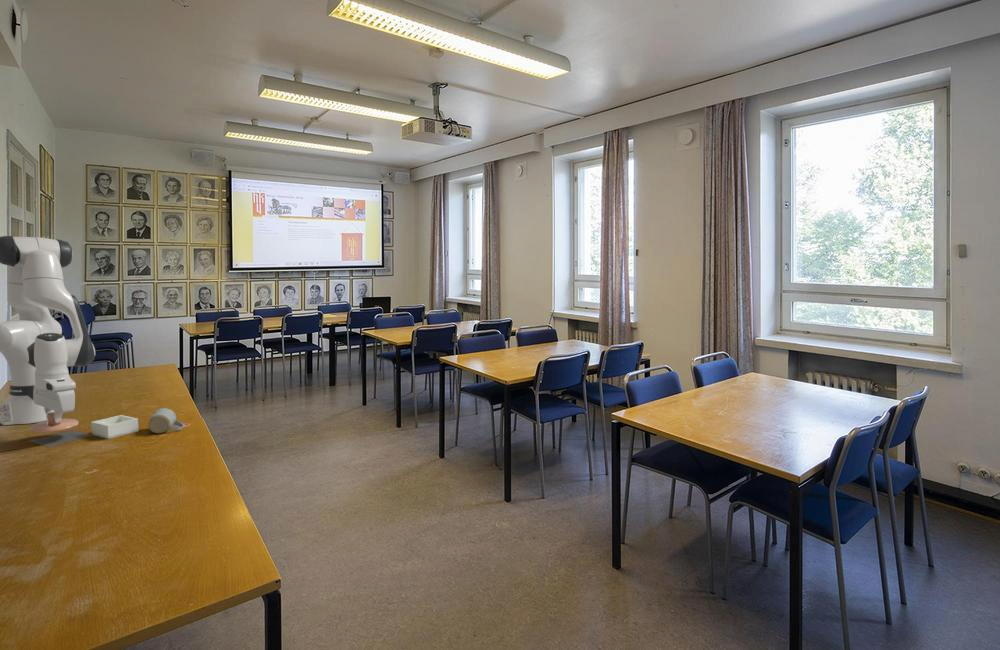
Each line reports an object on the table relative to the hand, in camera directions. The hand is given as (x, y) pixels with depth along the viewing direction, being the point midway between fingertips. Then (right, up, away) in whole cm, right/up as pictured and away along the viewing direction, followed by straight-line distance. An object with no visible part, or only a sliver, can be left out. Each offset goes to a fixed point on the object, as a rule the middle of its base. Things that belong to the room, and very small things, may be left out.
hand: (54, 420), depth 182 cm
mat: (+1, -7, +1) cm, 7 cm away
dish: (+15, -6, +8) cm, 18 cm away
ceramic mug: (+31, -6, +13) cm, 34 cm away
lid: (0, -2, 0) cm, 2 cm away
